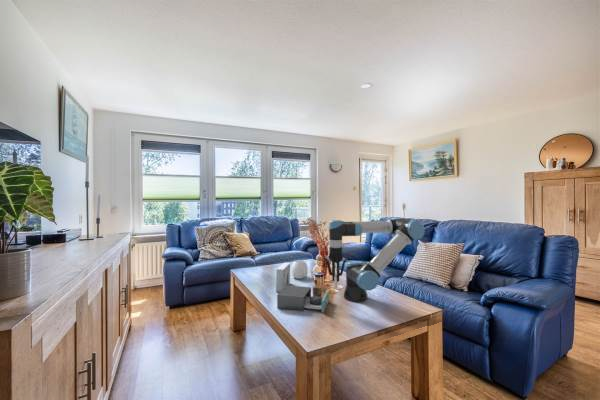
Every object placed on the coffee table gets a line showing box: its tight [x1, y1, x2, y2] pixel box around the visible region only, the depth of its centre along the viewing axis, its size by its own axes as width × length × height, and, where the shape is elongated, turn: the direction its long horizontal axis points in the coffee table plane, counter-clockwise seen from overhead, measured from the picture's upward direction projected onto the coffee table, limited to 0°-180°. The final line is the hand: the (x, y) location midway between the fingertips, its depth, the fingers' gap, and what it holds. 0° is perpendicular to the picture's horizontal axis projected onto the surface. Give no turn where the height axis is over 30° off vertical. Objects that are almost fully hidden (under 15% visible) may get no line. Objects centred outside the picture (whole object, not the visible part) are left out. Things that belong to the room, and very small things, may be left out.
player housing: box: [276, 285, 312, 312], centre depth 162 cm, size 16×18×8 cm
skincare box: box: [275, 262, 291, 293], centre depth 193 cm, size 21×6×16 cm, turn 168°
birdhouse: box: [304, 290, 330, 314], centre depth 159 cm, size 16×18×7 cm
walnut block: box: [312, 285, 322, 297], centre depth 172 cm, size 4×4×7 cm
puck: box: [310, 296, 323, 305], centre depth 158 cm, size 8×8×2 cm
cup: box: [291, 259, 309, 280], centre depth 217 cm, size 13×13×14 cm
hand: (335, 287), depth 155 cm, fingers closed
